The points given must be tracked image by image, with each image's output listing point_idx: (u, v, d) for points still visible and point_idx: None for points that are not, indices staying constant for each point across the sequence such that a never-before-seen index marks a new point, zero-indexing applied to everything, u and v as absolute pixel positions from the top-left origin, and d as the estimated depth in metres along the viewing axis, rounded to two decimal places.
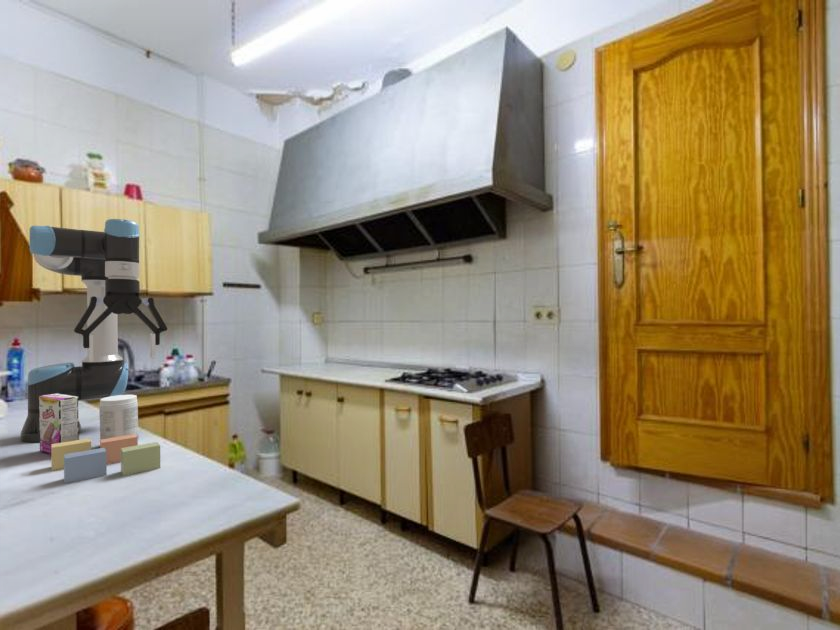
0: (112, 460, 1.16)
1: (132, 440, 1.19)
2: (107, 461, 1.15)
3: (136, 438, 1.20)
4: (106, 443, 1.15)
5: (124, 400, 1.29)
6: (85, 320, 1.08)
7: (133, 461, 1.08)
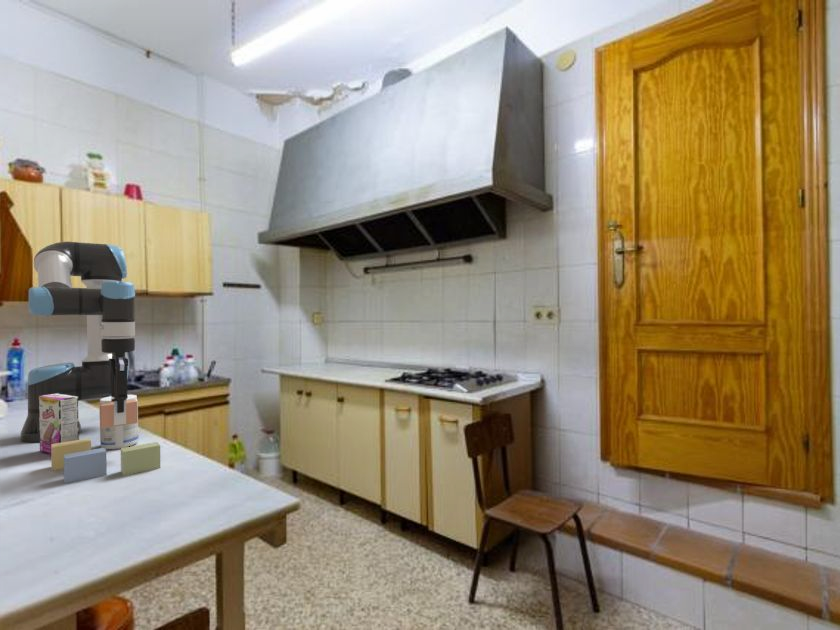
0: (112, 423, 1.16)
1: (132, 405, 1.19)
2: (107, 424, 1.16)
3: (136, 403, 1.20)
4: (106, 406, 1.15)
5: None
6: (110, 381, 1.22)
7: (133, 461, 1.08)
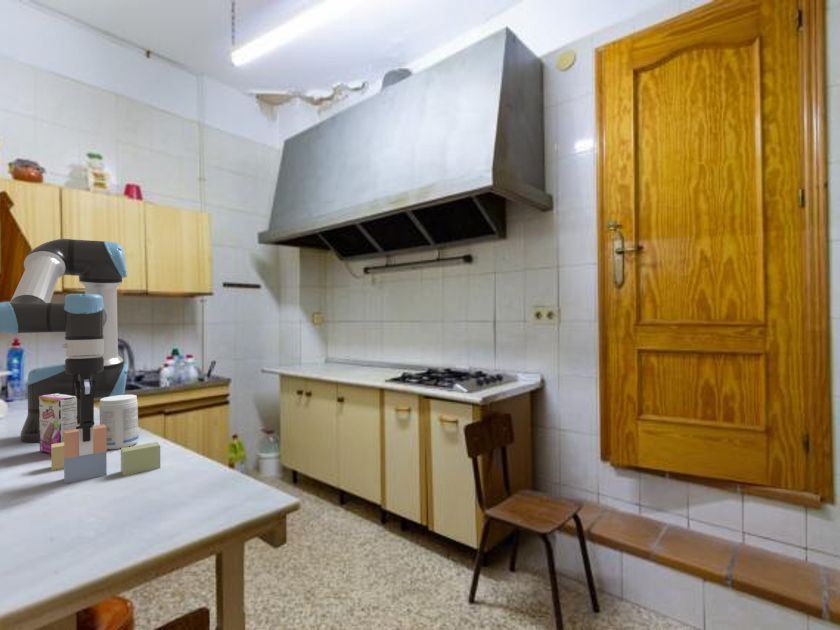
0: (77, 453, 1.04)
1: (100, 431, 1.07)
2: (71, 454, 1.03)
3: (105, 428, 1.07)
4: (70, 434, 1.03)
5: (124, 400, 1.29)
6: (77, 405, 1.09)
7: (133, 461, 1.08)
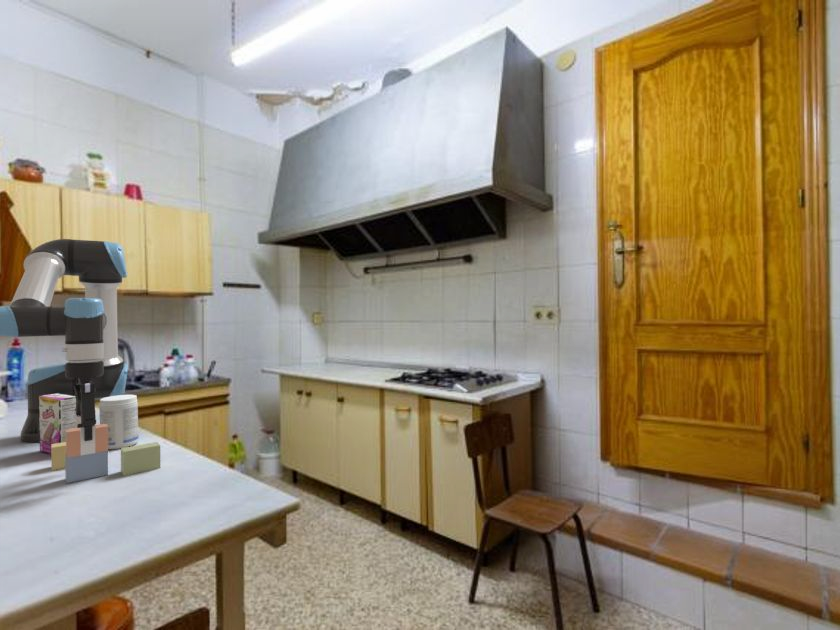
0: (79, 452, 1.04)
1: (102, 430, 1.07)
2: (73, 453, 1.03)
3: (107, 428, 1.07)
4: (72, 433, 1.03)
5: (124, 400, 1.29)
6: (76, 401, 1.11)
7: (133, 461, 1.08)
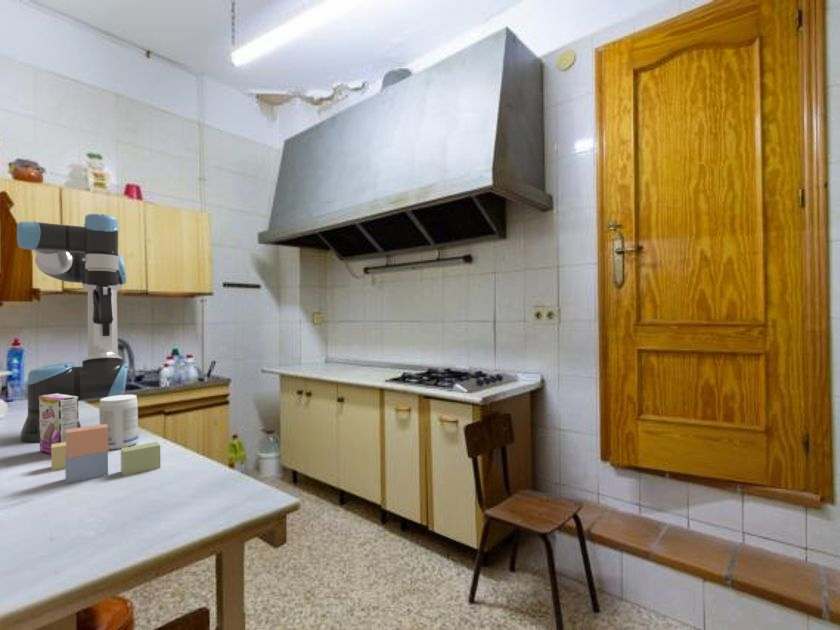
0: (79, 452, 1.03)
1: (102, 431, 1.07)
2: (73, 454, 1.03)
3: (107, 428, 1.07)
4: (72, 433, 1.03)
5: (124, 400, 1.29)
6: (93, 310, 1.26)
7: (133, 461, 1.08)
